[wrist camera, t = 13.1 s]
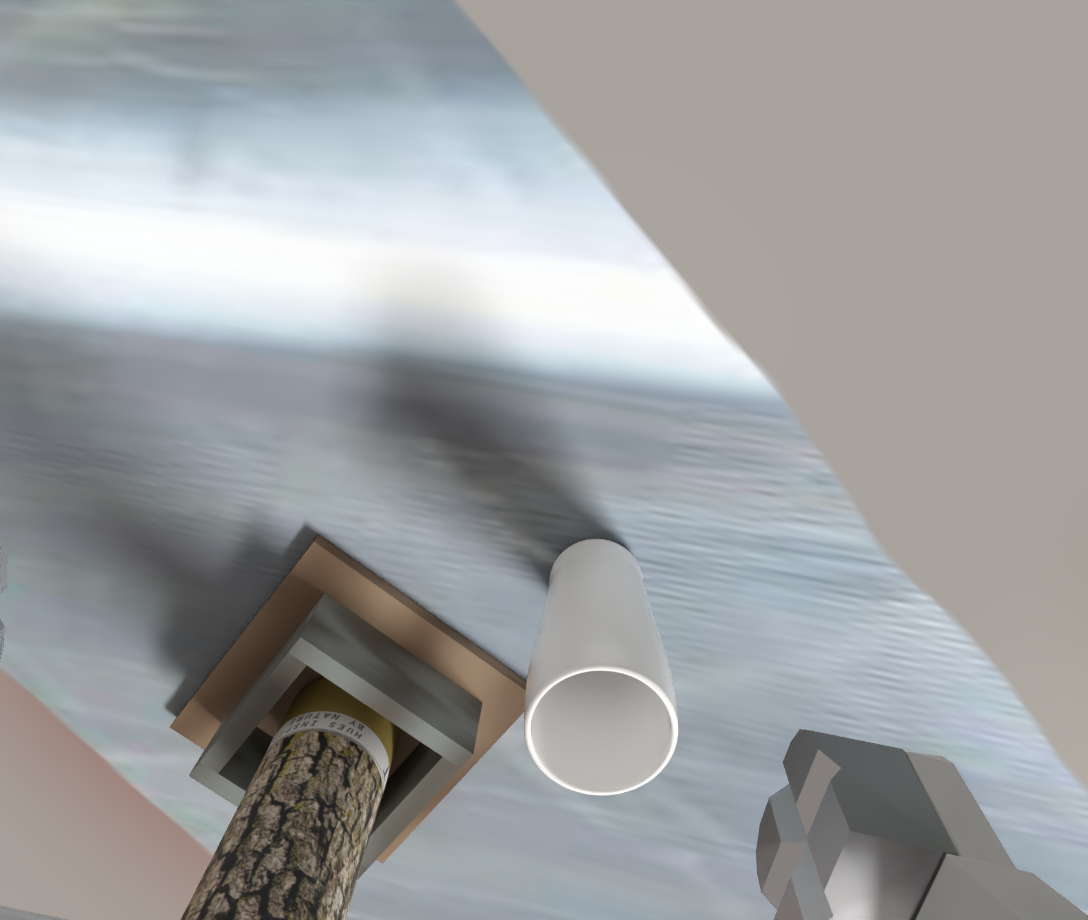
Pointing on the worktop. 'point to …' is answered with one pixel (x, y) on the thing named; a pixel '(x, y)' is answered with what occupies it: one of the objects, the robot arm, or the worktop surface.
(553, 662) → the drinking glass
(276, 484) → the worktop surface
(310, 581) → the grey square open box
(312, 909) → the paper tube
